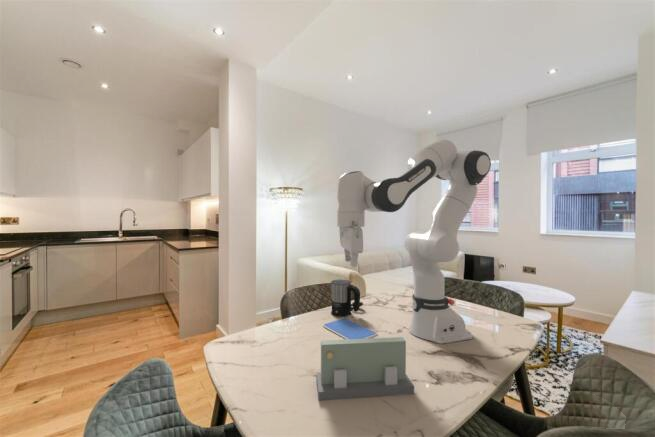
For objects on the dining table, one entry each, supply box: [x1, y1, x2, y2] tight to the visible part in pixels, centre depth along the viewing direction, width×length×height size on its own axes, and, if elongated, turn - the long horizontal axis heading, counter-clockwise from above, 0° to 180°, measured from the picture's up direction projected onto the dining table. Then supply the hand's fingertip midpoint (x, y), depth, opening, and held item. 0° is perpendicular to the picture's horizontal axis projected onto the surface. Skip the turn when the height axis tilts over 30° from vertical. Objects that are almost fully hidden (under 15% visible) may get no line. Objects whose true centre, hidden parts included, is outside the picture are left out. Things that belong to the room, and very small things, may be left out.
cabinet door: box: [320, 336, 407, 384], centre depth 69 cm, size 22×4×10 cm, turn 96°
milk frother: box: [330, 279, 364, 318], centre depth 126 cm, size 14×16×15 cm
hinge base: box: [315, 367, 415, 401], centre depth 70 cm, size 24×8×6 cm, turn 96°
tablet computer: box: [322, 317, 378, 340], centre depth 105 cm, size 19×13×1 cm, turn 37°
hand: (350, 263), depth 88 cm, fingers open, 8 cm apart
